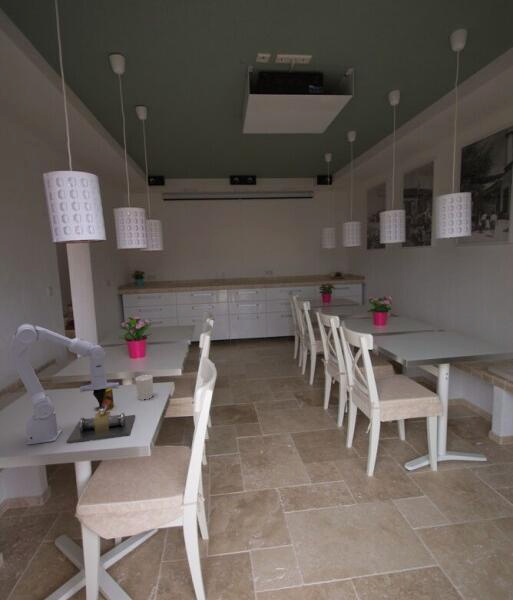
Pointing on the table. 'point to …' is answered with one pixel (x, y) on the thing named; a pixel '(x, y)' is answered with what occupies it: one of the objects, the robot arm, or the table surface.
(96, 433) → the valve body
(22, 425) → the table surface
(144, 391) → the white cup
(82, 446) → the table surface
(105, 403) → the valve lever
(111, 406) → the condiment
